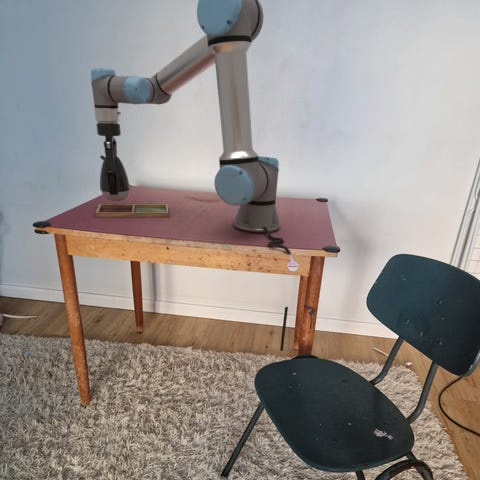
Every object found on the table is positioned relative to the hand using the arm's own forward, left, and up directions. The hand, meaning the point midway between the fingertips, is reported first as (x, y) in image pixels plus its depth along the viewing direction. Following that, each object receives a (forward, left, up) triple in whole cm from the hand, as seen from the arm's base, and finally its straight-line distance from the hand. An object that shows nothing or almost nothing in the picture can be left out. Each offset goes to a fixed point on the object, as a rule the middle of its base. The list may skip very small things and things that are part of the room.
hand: (115, 191), depth 149 cm
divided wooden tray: (0, -6, -8) cm, 10 cm away
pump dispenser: (0, 0, -3) cm, 3 cm away
